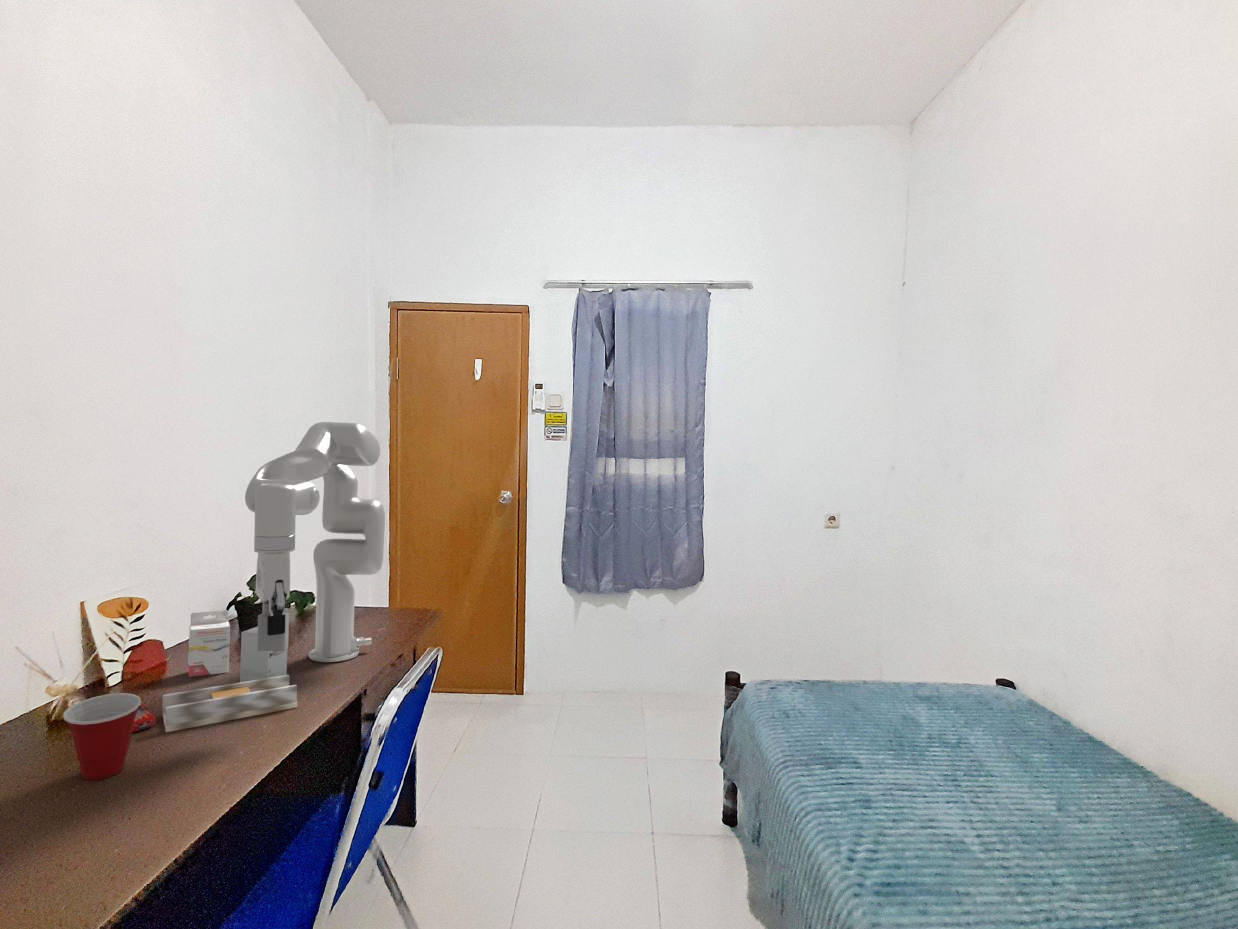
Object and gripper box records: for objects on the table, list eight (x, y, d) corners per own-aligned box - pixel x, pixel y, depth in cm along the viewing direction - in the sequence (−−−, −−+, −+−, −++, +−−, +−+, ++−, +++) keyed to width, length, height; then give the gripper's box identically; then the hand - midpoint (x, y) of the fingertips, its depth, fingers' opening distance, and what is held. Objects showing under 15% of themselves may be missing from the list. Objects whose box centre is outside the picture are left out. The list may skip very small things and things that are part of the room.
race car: (159, 728, 137) (160, 708, 137) (128, 737, 132) (129, 717, 132) (128, 712, 144) (128, 693, 144) (98, 720, 139) (98, 701, 139)
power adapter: (262, 646, 142) (263, 589, 142) (289, 646, 143) (290, 589, 142) (255, 651, 139) (257, 592, 139) (283, 651, 140) (284, 593, 139)
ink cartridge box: (188, 678, 164) (189, 617, 163) (188, 671, 168) (189, 612, 167) (229, 672, 168) (230, 613, 168) (228, 666, 173) (229, 609, 172)
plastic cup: (45, 789, 112) (46, 717, 112) (89, 758, 123) (89, 693, 122) (116, 788, 113) (117, 717, 113) (153, 758, 124) (154, 693, 124)
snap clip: (247, 692, 150) (247, 686, 150) (252, 700, 146) (252, 695, 145) (210, 698, 146) (210, 693, 146) (214, 707, 141) (214, 701, 141)
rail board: (287, 692, 157) (287, 673, 157) (297, 707, 149) (297, 687, 149) (162, 715, 142) (162, 693, 142) (165, 732, 134) (166, 709, 134)
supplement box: (266, 687, 160) (267, 634, 159) (238, 684, 161) (240, 631, 161) (287, 677, 167) (288, 626, 166) (261, 674, 168) (262, 623, 168)
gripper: (247, 538, 145) (245, 623, 145) (262, 551, 131) (260, 644, 132) (285, 536, 149) (284, 618, 150) (304, 548, 136) (302, 638, 137)
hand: (273, 629), depth 141 cm, fingers closed on power adapter, 4 cm apart
